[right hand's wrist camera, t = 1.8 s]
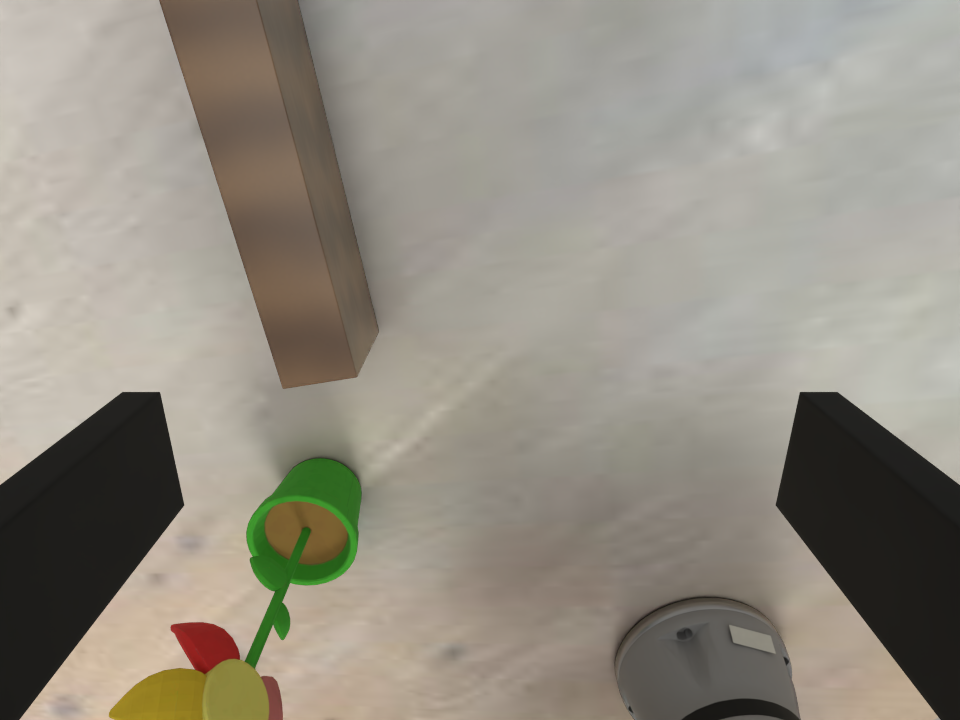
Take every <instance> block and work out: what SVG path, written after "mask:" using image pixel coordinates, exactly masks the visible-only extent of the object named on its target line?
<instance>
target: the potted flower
mask: <svg viewBox="0 0 960 720" xmlns="http://www.w3.org/2000/svg"><path fill="white" fill-rule="evenodd" d="M360 503H361V487H360V484H359V482H358V479H357V478H356V477H355V475H354V474H353V472H352V471H351V470H350V469H349V468H347V467H346V466H344V465H343V464H341V463H339V462H337V461H334V460H330V459H323V458H317V459H311V460H306V461H304V462H302V463H300V464H298V465H297V466H295V467H294V468H293V469H292V470H291V471H290V472H289V474H288V475H287V476H286V478H285V479H284V480H283V481H282V483H281V484H280V485H279V486H278V488H277V489H276V490H275V492H274V493H273V494H272V495H271V496H270V497H268V498H267V499H265V500H264V502H263V503H262V504H261V505H260V506H259V507H258V509H257V510H256V511H255V513H254V514H253V515H252V517H251V519H250V521H249V523H248V527H247V544H248V547H249V550H250V552H251V554H252V556H253V557H251V558H250V563H251V567H252V569H253V572H254V574H255V575H256V577H257V578H258V580H259V581H260V582H261V583H262V584H263V585H264V586H265V587H266V588H268V589H269V590H271V591H275V593H274V596H273V598H272V600H271V602H270V605H269V607H268V609H267V612H266V614H265V616H264V619H263V621H262V623H261V625H260V628H259V630H258V632H257V635H256V637H255V639H254V641H253V644H252V646H251V648H250V651H249V653H248V655H247V658H246V660H245V662H244V661H242V660H240V655H239V651H238V648H237V646H236V644H235V642H234V640H233V638H232V637H231V636H230V635H229V634H228V633H227V632H226V631H225V630H224V629H223V628H220V627H218V626H216V625H214V624H209V623H203V622H194V623H180V624H173V625H171V631H172V632H173V633H175V635H176V637H177V639H178V641H179V643H180V645H181V647H182V648H183V650H184V652H185V653H186V655H187V657H188V658H189V660H190V662H191V663H192V665H193V667H194V668H195V670H193V669H183V668H177V669H171V670H164V671H161V672H159V673H156V674H153V675H151V676H148V677H147V678H145V679H144V680H142V681H141V682H139V683H138V684H136V685H135V686H134V687H133V688H132V689H131V690H130V691H129V692H127V693H126V694H125V695H124V696H123V697H122V699H121V700H120V701H119V702H118V703H117V704H116V705H115V706H114V707H113V708H112V709H111V710H110V712H109V717H110V718H112V719H115V720H283V712H282V701H281V695H280V690H279V687H278V683H277V681H276V680H275V679H274V678H273V677H269V676H262V677H260V675H259V674H258V673H257V671H256V670H255V667H256V664H257V662H258V660H259V657H260V655H261V652H262V650H263V647H264V645H265V643H266V640H267V638H268V635H269V633H270V630H271V628H272V626H273V625H274V628H275V630H276V632H277V633H278V635H279V637H280V639H281V640H284V639H285V637H286V635H287V633H288V631H289V628H290V616H289V612H288V610H287V608H286V606H285V605H284V604H283V603H282V601H283V599H284V596H285V594H286V592H287V589H288V587H289V584H290V583H292V584H297V585H318V584H322V583H327V582H329V581H331V580H334V579H336V578H338V577H339V576H341V575H342V574H344V572H345V571H346V570H347V569H348V568H349V567H350V566H351V564H352V563H353V561H354V559H355V556H356V552H357V545H358V527H357V525H358V518H359V511H360Z"/></svg>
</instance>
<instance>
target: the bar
mask: <svg viewBox="0 0 960 720" xmlns="http://www.w3.org/2000/svg"><path fill="white" fill-rule="evenodd" d="M159 1H160V4H161V7H162V10H163V13H164V16H165V20H166V23H167V26H168V29H169V32H170V35H171V38H172V42H173V45H174V48H175V51H176V54H177V57H178V60H179V64H180V67H181V70H182V73H183V76H184V79H185V82H186V86H187V89H188V92H189V95H190V98H191V101H192V104H193V108H194V111H195V114H196V117H197V120H198V123H199V126H200V130H201V133H202V136H203V139H204V142H205V145H206V148H207V152H208V155H209V158H210V161H211V164H212V167H213V170H214V174H215V177H216V180H217V183H218V186H219V189H220V192H221V196H222V199H223V202H224V205H225V208H226V211H227V214H228V218H229V221H230V224H231V227H232V230H233V233H234V236H235V240H236V243H237V246H238V249H239V252H240V255H241V258H242V262H243V265H244V268H245V271H246V274H247V277H248V280H249V284H250V287H251V290H252V293H253V296H254V299H255V302H256V306H257V309H258V312H259V315H260V318H261V321H262V324H263V328H264V331H265V334H266V337H267V340H268V343H269V346H270V350H271V353H272V356H273V359H274V362H275V365H276V368H277V372H278V375H279V378H280V381H281V384H282V387H283V389H285V388H292V387H298V386H304V385H311V384H317V383H323V382H330V381H336V380H342V379H349V378H355V377H357V376H358V374H359V372H360V370H361V368H362V366H363V364H364V362H365V359H366V357H367V355H368V353H369V351H370V349H371V347H372V345H373V343H374V341H375V339H376V337H377V334H378V332H379V330H378V326H377V322H376V318H375V314H374V310H373V306H372V302H371V298H370V294H369V290H368V286H367V281H366V277H365V273H364V269H363V265H362V261H361V257H360V253H359V249H358V245H357V241H356V237H355V232H354V228H353V224H352V220H351V216H350V212H349V208H348V204H347V200H346V196H345V192H344V188H343V183H342V179H341V175H340V171H339V167H338V163H337V159H336V155H335V151H334V147H333V143H332V138H331V134H330V130H329V126H328V122H327V118H326V114H325V110H324V106H323V102H322V98H321V94H320V89H319V85H318V81H317V77H316V73H315V69H314V65H313V61H312V57H311V53H310V49H309V45H308V40H307V36H306V32H305V28H304V24H303V20H302V16H301V12H300V8H299V4H298V0H159Z"/></svg>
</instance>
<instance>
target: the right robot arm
mask: <svg viewBox="0 0 960 720" xmlns="http://www.w3.org/2000/svg"><path fill="white" fill-rule="evenodd" d="M183 506H184V502H183V497H182V493H181V488H180V483H179V479H178V474H177V469H176V465H175V460H174V455H173V451H172V446H171V441H170V437H169V432H168V427H167V423H166V418H165V413H164V409H163V404H162V399H161V395H160V392H122V393H121V394H120V395H118V396H117V397H116V398H114V399H113V400H112V401H110V402H109V403H108V404H106V405H105V406H104V407H102V408H101V409H100V410H98V411H97V412H96V413H95V414H93V415H92V416H91V417H89V418H88V419H87V420H85V421H84V422H83V423H81V424H80V425H79V426H77V427H76V428H75V429H73V430H72V431H71V432H70V433H68V434H67V435H66V436H64V437H63V438H62V439H60V440H59V441H58V442H56V443H55V444H54V445H52V446H51V447H50V448H48V449H47V450H46V451H45V452H43V453H42V454H41V455H39V456H38V457H37V458H35V459H34V460H33V461H31V462H30V463H29V464H27V465H26V466H25V467H23V468H22V469H21V470H20V471H18V472H17V473H16V474H14V475H13V476H12V477H10V478H9V479H8V480H6V481H5V482H4V483H2V484H1V485H0V720H19V719H20V718H21V717H22V716H23V714H24V713H25V712H26V710H27V709H28V708H29V706H30V705H31V704H32V703H33V701H34V700H35V699H36V697H37V696H38V695H39V693H40V692H41V691H42V690H43V688H44V687H45V686H46V684H47V683H48V682H49V680H50V679H51V678H52V677H53V675H54V674H55V673H56V671H57V670H58V669H59V667H60V666H61V665H62V664H63V662H64V661H65V660H66V658H67V657H68V656H69V654H70V653H71V652H72V651H73V649H74V648H75V647H76V645H77V644H78V643H79V641H80V640H81V639H82V638H83V636H84V635H85V634H86V632H87V631H88V630H89V628H90V627H91V626H92V625H93V623H94V622H95V621H96V619H97V618H98V617H99V615H100V614H101V613H102V612H103V610H104V609H105V608H106V606H107V605H108V604H109V602H110V601H111V600H112V599H113V597H114V596H115V595H116V593H117V592H118V591H119V589H120V588H121V587H122V586H123V584H124V583H125V582H126V580H127V579H128V578H129V576H130V575H131V574H132V573H133V571H134V570H135V569H136V567H137V566H138V565H139V563H140V562H141V561H142V560H143V558H144V557H145V556H146V554H147V553H148V552H149V550H150V549H151V548H152V547H153V545H154V544H155V543H156V541H157V540H158V539H159V537H160V536H161V535H162V533H163V532H164V531H165V530H166V528H167V527H168V526H169V524H170V523H171V522H172V520H173V519H174V518H175V517H176V515H177V514H178V513H179V511H180V510H181V509H182V507H183ZM776 506H777V507H778V509H779V510H780V511H781V513H782V514H783V515H784V517H785V518H786V519H787V520H788V522H789V523H790V524H791V526H792V527H793V528H794V530H795V531H796V532H797V533H798V535H799V536H800V537H801V539H802V540H803V541H804V543H805V544H806V545H807V547H808V548H809V549H810V550H811V552H812V553H813V554H814V556H815V557H816V558H817V560H818V561H819V562H820V563H821V565H822V566H823V567H824V569H825V570H826V571H827V573H828V574H829V575H830V576H831V578H832V579H833V580H834V582H835V583H836V584H837V586H838V587H839V588H840V589H841V591H842V592H843V593H844V595H845V596H846V597H847V599H848V600H849V601H850V602H851V604H852V605H853V606H854V608H855V609H856V610H857V612H858V613H859V614H860V615H861V617H862V618H863V619H864V621H865V622H866V623H867V625H868V626H869V627H870V628H871V630H872V631H873V632H874V634H875V635H876V636H877V638H878V639H879V640H880V641H881V643H882V644H883V645H884V647H885V648H886V649H887V651H888V652H889V653H890V654H891V656H892V657H893V658H894V660H895V661H896V662H897V664H898V665H899V666H900V667H901V669H902V670H903V671H904V673H905V674H906V675H907V677H908V678H909V679H910V680H911V682H912V683H913V684H914V686H915V687H916V688H917V690H918V691H919V692H920V693H921V695H922V696H923V697H924V699H925V700H926V701H927V703H928V704H929V705H930V706H931V708H932V709H933V710H934V712H935V713H936V714H937V716H938V717H939V718H940V719H941V720H960V485H959V484H958V483H956V482H955V481H954V480H952V479H951V478H950V477H948V476H947V475H946V474H944V473H943V472H942V471H940V470H939V469H938V468H937V467H935V466H934V465H933V464H931V463H930V462H929V461H927V460H926V459H925V458H923V457H922V456H921V455H919V454H918V453H917V452H915V451H914V450H913V449H912V448H910V447H909V446H908V445H906V444H905V443H904V442H902V441H901V440H900V439H898V438H897V437H896V436H894V435H893V434H892V433H890V432H889V431H888V430H887V429H885V428H884V427H883V426H881V425H880V424H879V423H877V422H876V421H875V420H873V419H872V418H871V417H869V416H868V415H867V414H865V413H864V412H863V411H862V410H860V409H859V408H858V407H856V406H855V405H854V404H852V403H851V402H850V401H848V400H847V399H846V398H844V397H843V396H842V395H840V394H839V393H838V392H800V395H799V399H798V404H797V409H796V413H795V418H794V423H793V427H792V432H791V437H790V441H789V446H788V451H787V455H786V460H785V465H784V469H783V474H782V479H781V483H780V488H779V492H778V497H777V502H776ZM615 673H616V679H617V683H618V687H619V691H620V694H621V696H622V699H623V701H624V704H625V706H626V708H627V710H628V711H629V713H630V714H631V716H632V717H633V718H634V720H801V719H800V714H799V708H798V703H797V697H796V693H795V688H794V685H793V682H792V669H791V663H790V659H789V656H788V653H787V650H786V648H785V645H784V643H783V641H782V639H781V638H780V636H779V634H778V632H777V631H776V629H775V627H774V626H773V624H772V623H771V622H770V621H769V620H768V619H767V618H766V617H765V616H764V615H763V614H761V613H760V612H759V611H757V610H756V609H754V608H752V607H750V606H748V605H746V604H743V603H740V602H737V601H733V600H728V599H721V598H697V599H690V600H685V601H680V602H677V603H674V604H671V605H668V606H666V607H663V608H661V609H659V610H657V611H655V612H653V613H652V614H650V615H648V616H647V617H645V618H644V619H643V620H641V621H640V622H639V623H638V624H637V625H635V626H634V627H633V628H632V629H631V631H630V632H629V633H628V634H627V636H626V637H625V638H624V640H623V642H622V643H621V645H620V647H619V650H618V653H617V656H616V662H615Z"/></svg>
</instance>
